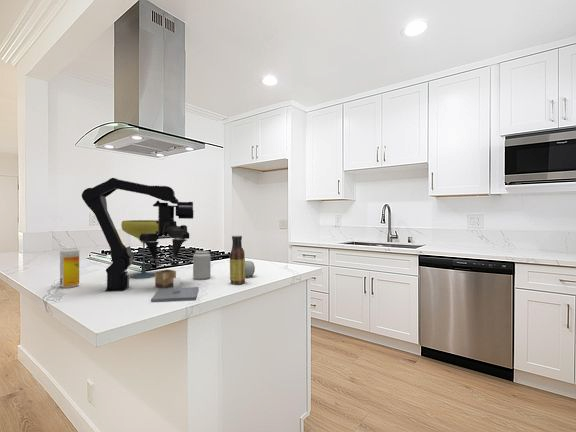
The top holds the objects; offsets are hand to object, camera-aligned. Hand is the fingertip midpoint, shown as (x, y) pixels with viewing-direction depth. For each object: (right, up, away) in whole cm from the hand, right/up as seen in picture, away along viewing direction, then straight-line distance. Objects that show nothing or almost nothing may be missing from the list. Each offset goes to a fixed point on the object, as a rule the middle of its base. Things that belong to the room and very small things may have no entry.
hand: (165, 258), depth 120 cm
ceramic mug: (+27, -12, +21) cm, 36 cm away
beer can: (-37, -11, -2) cm, 38 cm away
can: (+10, -11, +16) cm, 22 cm away
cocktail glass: (-18, -11, +19) cm, 28 cm away
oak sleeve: (0, -11, 0) cm, 11 cm away
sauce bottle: (+27, -12, +7) cm, 30 cm away
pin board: (+9, -12, -12) cm, 19 cm away
